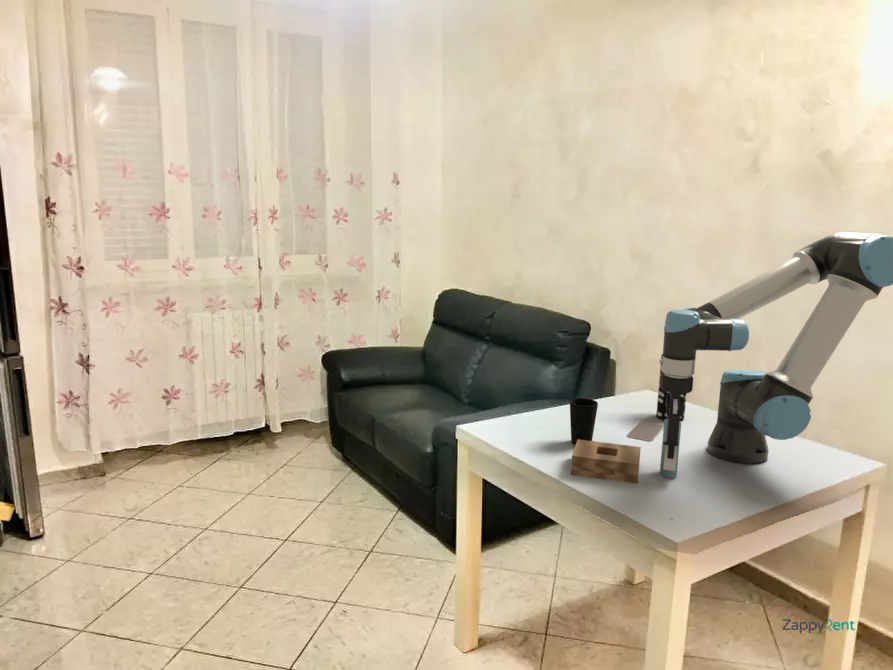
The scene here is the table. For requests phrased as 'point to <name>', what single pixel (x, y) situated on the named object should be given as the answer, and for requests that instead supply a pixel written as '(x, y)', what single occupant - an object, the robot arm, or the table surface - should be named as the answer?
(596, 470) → the bore block
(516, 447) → the table surface
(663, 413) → the white-spotted black cylinder
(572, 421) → the cup
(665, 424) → the pin
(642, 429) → the smartphone
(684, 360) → the robot arm
